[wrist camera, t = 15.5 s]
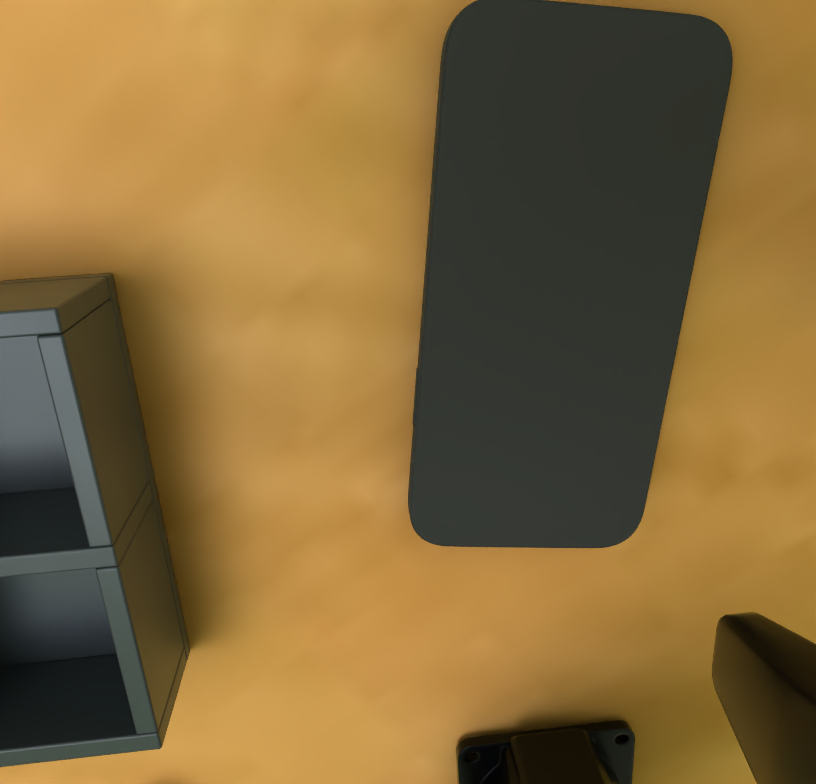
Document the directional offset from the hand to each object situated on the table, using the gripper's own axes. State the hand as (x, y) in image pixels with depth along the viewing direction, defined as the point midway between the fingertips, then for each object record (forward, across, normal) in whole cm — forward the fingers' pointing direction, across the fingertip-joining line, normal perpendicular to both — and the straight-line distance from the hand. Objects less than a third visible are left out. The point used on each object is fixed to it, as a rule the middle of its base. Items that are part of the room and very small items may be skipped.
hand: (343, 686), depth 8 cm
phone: (+13, -6, -1) cm, 14 cm away
